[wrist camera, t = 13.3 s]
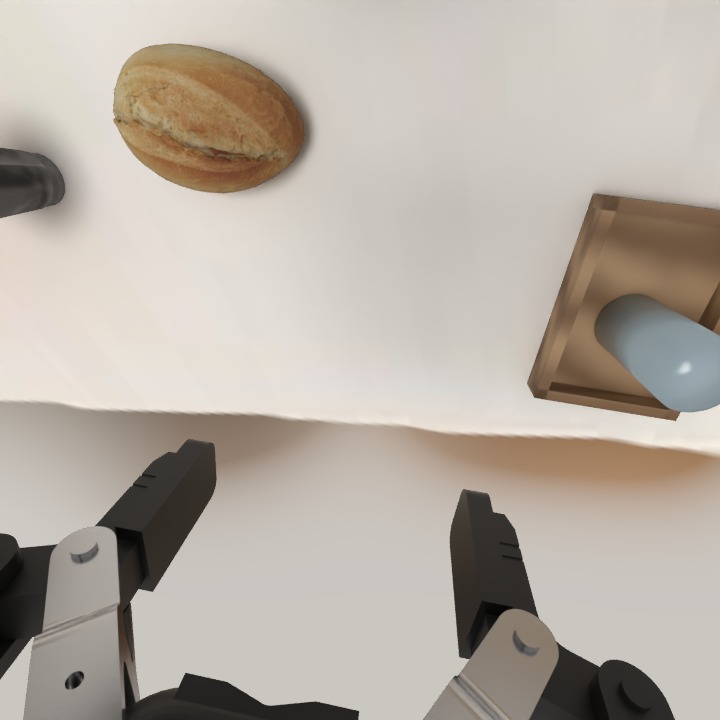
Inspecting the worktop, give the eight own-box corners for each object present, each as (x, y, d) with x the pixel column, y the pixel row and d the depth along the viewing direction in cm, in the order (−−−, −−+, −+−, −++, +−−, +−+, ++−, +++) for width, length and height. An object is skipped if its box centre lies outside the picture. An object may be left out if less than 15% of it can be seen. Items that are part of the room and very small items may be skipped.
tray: (593, 193, 33) (607, 195, 30) (760, 215, 32) (789, 219, 30) (527, 383, 41) (534, 397, 39) (659, 404, 40) (675, 420, 38)
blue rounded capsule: (606, 291, 35) (674, 335, 26) (673, 296, 35) (765, 344, 26) (586, 349, 38) (641, 407, 29) (648, 355, 37) (724, 416, 28)
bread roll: (305, 202, 36) (277, 211, 29) (146, 175, 37) (81, 177, 30) (315, 74, 32) (285, 47, 25) (135, 46, 33) (56, 13, 26)
